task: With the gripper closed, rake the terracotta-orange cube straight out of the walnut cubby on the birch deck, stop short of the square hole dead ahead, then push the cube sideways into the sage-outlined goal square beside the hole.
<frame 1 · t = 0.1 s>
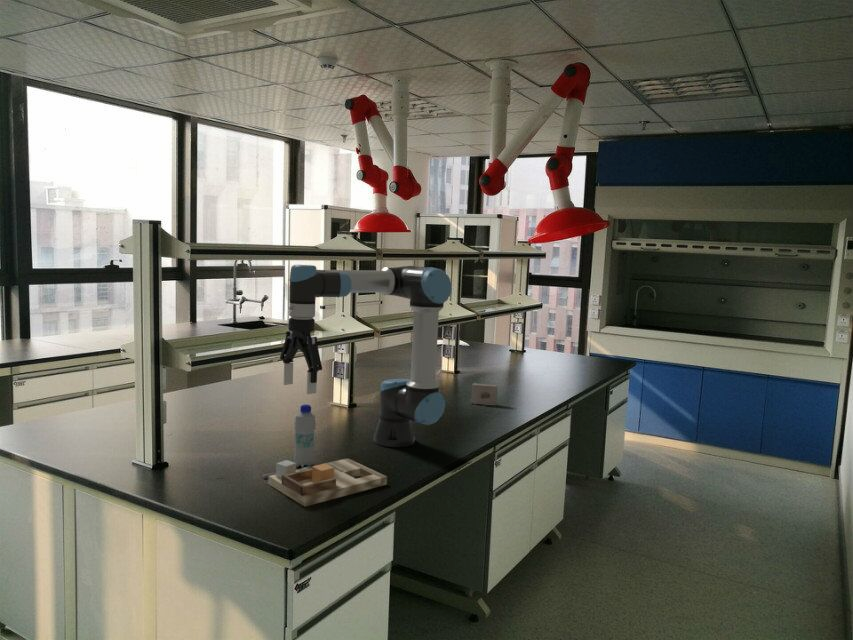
hand: (299, 388, 192), 28 cm above the counter, fingers open, 13 cm apart
cubby: (308, 485, 184), resting on deck
crook tool: (277, 475, 198), on the counter
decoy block: (285, 476, 190), point 2 cm above the counter, touching deck
cube: (322, 482, 187), point 2 cm above the counter, touching deck
deck: (328, 484, 192), on the counter
bottle: (303, 466, 207), on the counter
pale printed box: (484, 405, 302), on the counter
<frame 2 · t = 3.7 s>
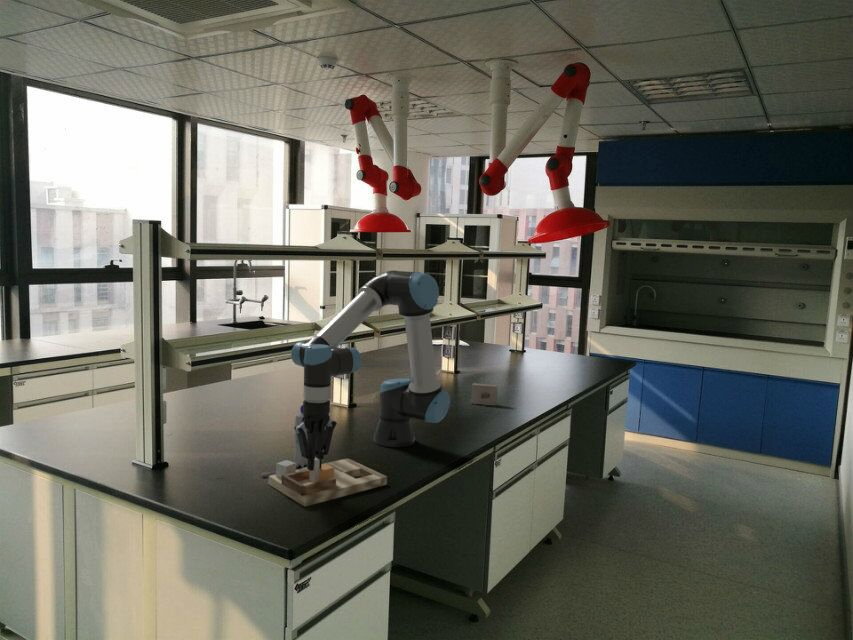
hand: (314, 480, 185), 4 cm above the counter, fingers closed
cube: (322, 482, 187), point 2 cm above the counter, touching deck, gripper
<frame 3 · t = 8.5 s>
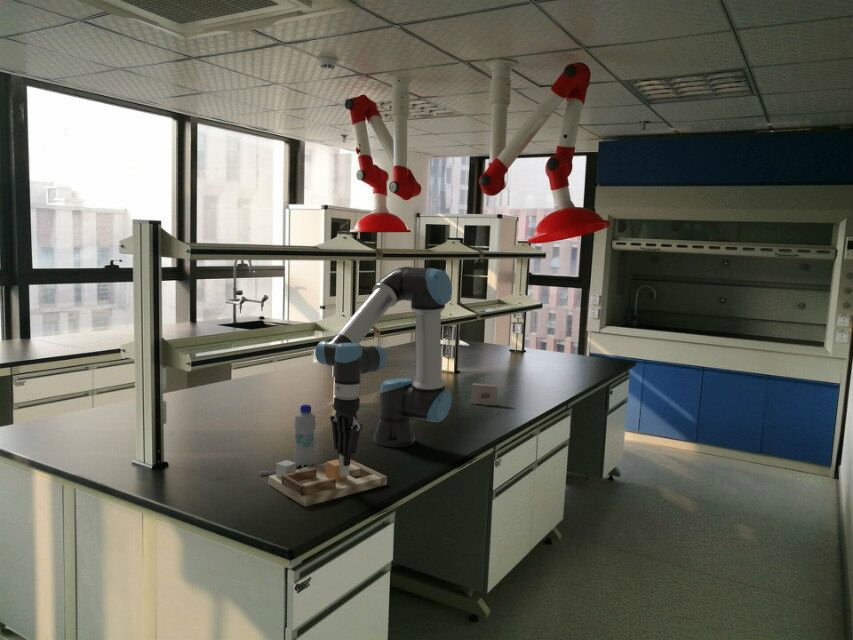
hand: (343, 475, 190), 4 cm above the counter, fingers closed
cube: (336, 477, 192), point 3 cm above the counter, touching gripper
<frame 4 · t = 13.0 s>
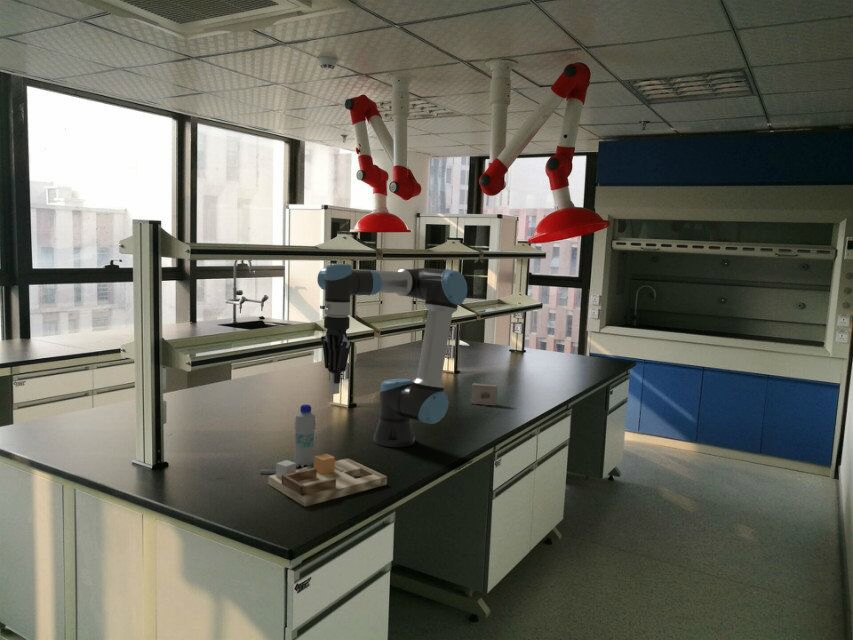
hand: (334, 393, 195), 26 cm above the counter, fingers closed
cube: (324, 471, 196), point 2 cm above the counter, touching deck
at the end: cube inside the target area (0.7 cm from its centre), point 2.5 cm above the counter; cube tilted 0° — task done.
